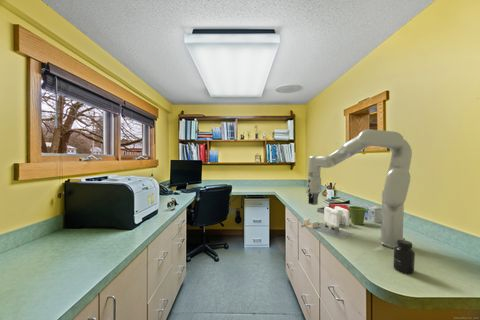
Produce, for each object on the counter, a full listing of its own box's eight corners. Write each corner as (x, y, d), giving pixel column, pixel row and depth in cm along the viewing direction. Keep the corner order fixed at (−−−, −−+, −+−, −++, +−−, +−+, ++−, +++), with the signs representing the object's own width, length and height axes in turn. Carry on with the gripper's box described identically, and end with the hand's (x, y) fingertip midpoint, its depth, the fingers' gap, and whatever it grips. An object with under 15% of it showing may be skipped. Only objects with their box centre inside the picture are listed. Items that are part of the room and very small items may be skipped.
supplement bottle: (391, 270, 86) (392, 241, 86) (394, 264, 91) (395, 237, 91) (413, 277, 81) (414, 246, 81) (415, 270, 86) (416, 241, 86)
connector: (317, 204, 135) (318, 192, 135) (313, 205, 133) (314, 193, 133) (312, 203, 138) (312, 191, 138) (308, 203, 136) (308, 192, 136)
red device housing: (352, 215, 166) (352, 209, 166) (333, 214, 169) (333, 208, 169) (345, 210, 184) (345, 204, 184) (328, 209, 187) (328, 203, 187)
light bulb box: (361, 218, 160) (362, 204, 160) (368, 218, 162) (369, 204, 162) (374, 223, 150) (375, 208, 149) (381, 222, 152) (382, 207, 151)
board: (353, 236, 123) (353, 228, 123) (339, 241, 116) (339, 232, 116) (314, 223, 146) (314, 216, 146) (301, 227, 138) (301, 220, 138)
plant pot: (362, 221, 153) (362, 206, 153) (369, 226, 141) (370, 210, 141) (345, 220, 155) (345, 205, 155) (351, 225, 143) (351, 209, 143)
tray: (362, 213, 174) (363, 210, 174) (344, 218, 159) (344, 214, 159) (336, 207, 194) (336, 204, 194) (317, 211, 179) (317, 208, 179)
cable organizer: (350, 228, 138) (350, 210, 138) (336, 228, 136) (336, 211, 136) (336, 221, 152) (336, 205, 152) (323, 221, 151) (323, 205, 150)
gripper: (310, 175, 127) (309, 205, 128) (326, 175, 137) (325, 202, 137) (301, 174, 134) (299, 202, 134) (317, 173, 143) (316, 200, 143)
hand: (313, 202), depth 136 cm, fingers closed on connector, 4 cm apart
